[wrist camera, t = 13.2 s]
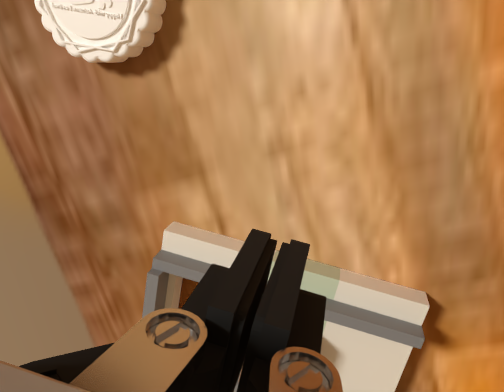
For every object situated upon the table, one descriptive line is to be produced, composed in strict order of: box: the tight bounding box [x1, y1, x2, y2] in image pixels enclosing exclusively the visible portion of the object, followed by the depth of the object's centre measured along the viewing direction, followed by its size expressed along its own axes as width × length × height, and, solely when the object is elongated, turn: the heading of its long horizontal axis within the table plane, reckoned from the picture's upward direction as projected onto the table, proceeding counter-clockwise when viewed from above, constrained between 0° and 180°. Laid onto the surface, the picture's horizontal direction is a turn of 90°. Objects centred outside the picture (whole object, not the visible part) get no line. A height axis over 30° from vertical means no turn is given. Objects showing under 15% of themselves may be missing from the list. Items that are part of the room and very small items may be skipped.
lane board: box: [142, 221, 430, 392], centre depth 44 cm, size 27×18×6 cm, turn 79°
